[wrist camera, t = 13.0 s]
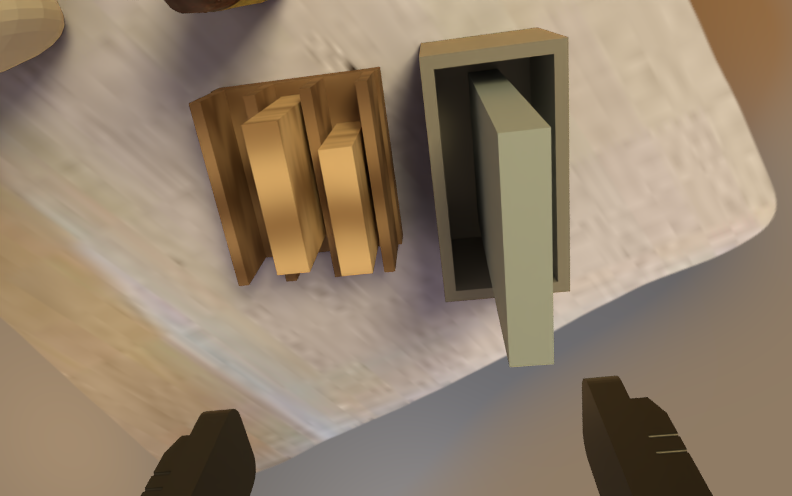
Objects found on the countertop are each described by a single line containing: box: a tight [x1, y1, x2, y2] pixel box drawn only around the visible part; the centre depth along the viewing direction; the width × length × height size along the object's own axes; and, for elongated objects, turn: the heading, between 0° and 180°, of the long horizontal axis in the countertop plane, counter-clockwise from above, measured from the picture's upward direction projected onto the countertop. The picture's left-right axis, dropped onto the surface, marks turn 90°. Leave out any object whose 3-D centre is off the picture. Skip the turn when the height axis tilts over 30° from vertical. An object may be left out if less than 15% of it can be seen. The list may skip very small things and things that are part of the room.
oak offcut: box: [241, 95, 326, 275], centre depth 40 cm, size 10×2×10 cm, turn 8°
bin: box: [419, 27, 570, 302], centre depth 41 cm, size 17×9×10 cm, turn 8°
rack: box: [189, 67, 403, 286], centre depth 43 cm, size 14×13×7 cm
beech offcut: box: [318, 121, 379, 276], centre depth 41 cm, size 9×2×8 cm, turn 7°
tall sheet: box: [468, 69, 554, 367], centre depth 35 cm, size 12×2×20 cm, turn 7°
